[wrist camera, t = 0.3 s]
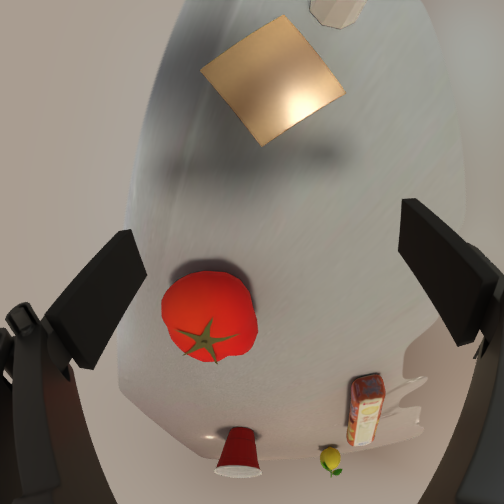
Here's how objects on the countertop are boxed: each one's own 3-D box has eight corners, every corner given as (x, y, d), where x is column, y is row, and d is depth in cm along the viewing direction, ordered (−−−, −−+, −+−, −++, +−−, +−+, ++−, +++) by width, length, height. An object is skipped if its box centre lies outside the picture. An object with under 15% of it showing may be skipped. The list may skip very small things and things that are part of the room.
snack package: (349, 376, 46) (354, 407, 40) (383, 370, 45) (391, 399, 39) (344, 425, 56) (347, 449, 50) (371, 420, 55) (375, 444, 49)
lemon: (340, 448, 63) (343, 478, 55) (320, 451, 64) (321, 481, 56) (340, 440, 60) (343, 472, 52) (318, 444, 61) (320, 476, 53)
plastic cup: (253, 443, 63) (249, 482, 52) (214, 433, 61) (207, 473, 50) (273, 429, 58) (271, 473, 47) (230, 418, 56) (224, 464, 46)
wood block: (213, 76, 26) (199, 70, 21) (282, 31, 23) (283, 14, 18) (264, 140, 29) (261, 147, 24) (333, 95, 26) (346, 93, 21)
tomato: (240, 334, 43) (231, 389, 34) (164, 296, 40) (138, 347, 31) (281, 284, 38) (281, 340, 29) (194, 237, 35) (167, 284, 26)
